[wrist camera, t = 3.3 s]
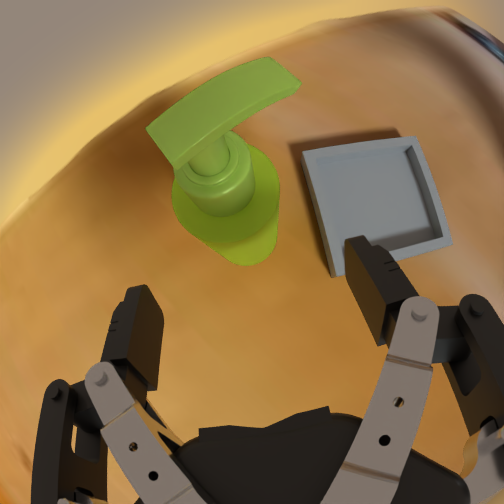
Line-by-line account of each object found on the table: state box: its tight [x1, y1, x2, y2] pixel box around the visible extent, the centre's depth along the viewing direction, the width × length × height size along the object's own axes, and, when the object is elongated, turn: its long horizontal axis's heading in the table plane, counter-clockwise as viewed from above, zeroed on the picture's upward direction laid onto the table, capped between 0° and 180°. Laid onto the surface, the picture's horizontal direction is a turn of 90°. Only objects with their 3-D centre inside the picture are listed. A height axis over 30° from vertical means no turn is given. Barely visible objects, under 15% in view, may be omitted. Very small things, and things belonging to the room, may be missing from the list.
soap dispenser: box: [145, 57, 302, 266], centre depth 18 cm, size 6×7×20 cm
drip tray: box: [300, 136, 453, 278], centre depth 27 cm, size 13×12×2 cm
